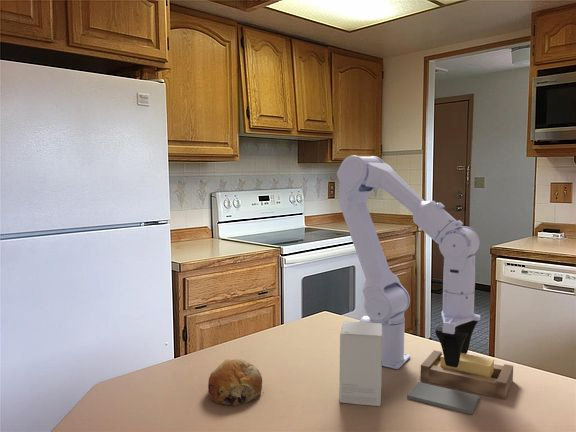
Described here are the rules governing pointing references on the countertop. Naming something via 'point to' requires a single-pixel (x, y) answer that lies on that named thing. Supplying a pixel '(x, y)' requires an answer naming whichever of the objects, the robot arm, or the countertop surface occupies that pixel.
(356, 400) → the supplement box
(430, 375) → the pocket board
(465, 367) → the bar
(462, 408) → the mat
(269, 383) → the countertop surface
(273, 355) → the countertop surface
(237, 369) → the bread roll
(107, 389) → the countertop surface
